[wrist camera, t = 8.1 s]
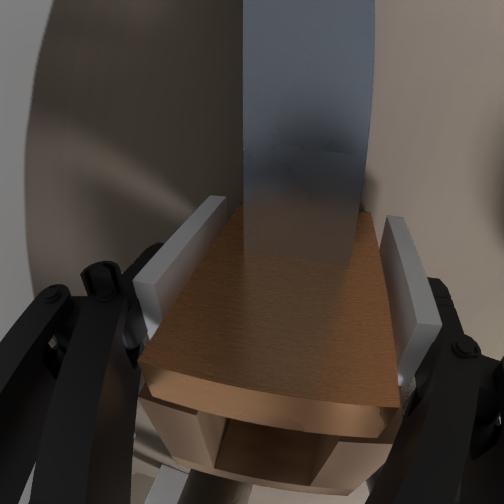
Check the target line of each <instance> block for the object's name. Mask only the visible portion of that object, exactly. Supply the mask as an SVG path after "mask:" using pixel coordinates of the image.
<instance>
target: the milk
mask: <svg viewBox="0 0 504 504" xmlns="http://www.w3.org/2000/svg"><path fill="white" fill-rule="evenodd" d="M188 475H189V474H187V473H184V472H181V471H179V470H176V469H173V468H171V467H168V466H166V465H163V464H162V466H161V468H160V470H159V472H158V474H157V477H156V479H155V481H154V483H153V486H152V488H151V490H150V492H149V495H148V497H147V499H146V501H145V503H144V504H177V503H178V500H179V498H180V495H181V493H182V490H183V488H184V485H185V483H186V480H187V478H188Z"/></svg>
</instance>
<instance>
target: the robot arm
mask: <svg viewBox="0 0 504 504" xmlns="http://www.w3.org/2000/svg"><path fill="white" fill-rule="evenodd" d="M226 224H227V205H226V196H215V195H210V196H209V197H208V198H207V199H206V200H205V201H204V202H203V203H202V204H201V205H200V206H199V207H198V208H197V209H196V210H195V212H194V213H193V214H192V215H191V216H190V217H189V218H188V219H187V220H186V221H185V222H184V223H183V224H182V225H181V226H180V228H179V229H178V230H177V231H176V232H175V233H174V234H173V235H172V236H171V237H170V238H169V239H168V241H167V242H166V243H165V244H164V243H156V244H154V245H152V246H150V247H149V248H147V249H146V250H145V251H144V252H143V253H142V254H141V255H140V256H139V258H137V259H136V260H135V261H134V264H132V265H131V266H130V267H129V268H128V269H127V270H126V271H125V272H124V273H123V274H121V271H120V267H119V266H118V264H117V263H114V262H112V261H102V262H97V263H94V264H92V265H90V266H88V267H87V268H85V269H84V270H83V271H82V273H81V274H80V275H81V278H82V281H83V283H84V286H85V289H86V292H87V295H88V296H71V294H70V291H69V289H68V288H67V286H65V285H62V284H56V285H51V286H49V287H47V288H46V289H44V290H43V291H42V292H40V293H39V294H38V296H37V297H36V298H35V299H34V300H33V302H32V303H31V304H30V305H29V306H28V308H27V309H26V310H25V311H24V312H23V314H22V315H21V316H20V317H19V319H18V320H17V321H16V322H15V324H14V325H13V326H12V327H11V329H10V330H9V331H8V333H7V334H6V335H5V337H4V338H3V339H2V341H1V342H0V504H18V503H19V500H20V498H21V495H22V493H23V490H24V488H25V485H26V483H27V480H28V478H29V476H30V474H31V471H32V469H33V467H34V464H35V462H36V465H35V470H34V477H33V482H32V489H31V495H30V501H29V503H28V504H130V496H131V494H130V493H131V472H132V455H133V442H134V430H135V419H136V409H137V400H138V392H139V384H140V376H141V369H140V366H139V364H138V361H137V360H138V358H139V357H140V355H141V354H142V352H143V350H144V346H143V343H142V340H143V338H144V337H145V335H146V334H147V333H148V336H149V339H151V338H152V336H153V335H154V333H155V331H156V330H157V328H158V327H159V325H160V324H161V322H162V321H163V319H164V317H165V316H166V314H167V313H168V311H169V310H170V308H171V307H172V305H173V304H174V302H175V300H176V299H177V297H178V296H179V294H180V293H181V291H182V290H183V288H184V287H185V285H186V284H187V282H188V281H189V279H190V278H191V276H192V275H193V273H194V272H195V270H196V269H197V267H198V266H199V264H200V263H201V261H202V260H203V258H204V257H205V255H206V254H207V252H208V251H209V249H210V248H211V246H212V245H213V243H214V242H215V241H216V239H217V238H218V236H219V235H220V233H221V232H222V230H223V229H224V227H225V226H226ZM379 252H380V257H381V262H382V267H383V272H384V278H385V283H386V289H387V295H388V301H389V308H390V314H391V321H392V329H393V337H394V345H395V354H396V364H397V375H398V386H409V384H410V383H411V381H412V379H413V378H414V376H415V379H416V388H415V390H414V391H413V393H412V394H411V396H410V397H409V399H408V400H407V401H406V403H405V404H404V406H403V408H404V409H406V407H407V409H406V412H405V414H404V417H403V420H402V423H401V425H400V428H399V430H398V433H397V436H396V438H395V440H394V443H393V445H392V448H391V450H390V452H389V455H388V457H387V459H386V462H385V463H384V464H383V465H382V466H381V467H380V468H379V469H378V470H377V471H375V472H374V473H373V474H372V475H371V476H370V477H369V478H368V479H367V480H366V482H367V486H368V489H369V493H370V495H369V497H368V499H367V500H366V502H365V504H504V356H503V358H502V359H501V361H498V360H495V359H492V358H489V357H486V356H484V355H482V354H481V349H480V347H479V346H478V344H477V342H475V341H474V340H473V339H472V338H471V337H469V336H467V335H465V334H464V332H463V329H462V326H461V323H460V320H459V317H458V315H457V312H456V309H455V308H454V304H453V301H452V300H451V296H450V293H449V291H448V288H447V287H446V286H445V285H444V284H443V282H442V281H441V280H440V279H437V278H429V277H427V276H426V274H425V271H424V268H423V265H422V263H421V260H420V257H419V255H418V252H417V250H416V247H415V245H414V242H413V240H412V237H411V235H410V232H409V230H408V228H407V225H406V223H405V221H404V218H402V217H396V216H389V215H387V217H386V222H385V227H384V231H383V236H382V240H381V245H380V249H379ZM52 337H53V339H54V340H55V342H56V345H55V346H54V347H53V348H51V347H50V345H49V344H48V342H49V341H50V339H51V338H52ZM499 417H500V418H501V424H500V421H499Z"/></svg>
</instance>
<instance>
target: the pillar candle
mask: <svg viewBox="0 0 504 504" xmlns="http://www.w3.org/2000/svg"><path fill="white" fill-rule="evenodd" d="M252 485H253V484H250V483H245V482H240V481H236V480H232V479H228V478H224V477H220V476H216V475H212V474H208V473H205V472H201V471H198V470H195V469H191V470H190V473H189V475H188V478H187V480H186V483H185V485H184V488H183V490H182V493H181V495H180V498H179V500H178V503H177V504H247V503H248V500H249V496H250V493H251V490H252Z"/></svg>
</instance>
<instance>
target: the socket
mask: <svg viewBox="0 0 504 504" xmlns="http://www.w3.org/2000/svg"><path fill="white" fill-rule="evenodd" d="M398 387H399V403H400V408H399V409H398V411H397V412H396V413H395V415H394V416H393V418H392V419H391V420H390V422H389V423H388V424H387V426H386V427H385V428H384V430H383V431H382V432H381V434H380V435H379V436H378V437H377V438H367V437H351V436H339V435H329V434H320V433H311V432H304V431H297V430H290V429H284V428H278V427H272V426H266V425H261V424H256V423H251V422H246V421H241V420H237V419H232V418H228V417H223V416H219V415H215V414H211V413H207V412H204V411H200V410H196V409H193V408H189V407H185V406H182V405H179V404H175V403H172V402H169V401H166V400H162V399H159V398H156V397H153V396H152V394H151V392H150V390H149V387H148V385H147V383H145V385H144V386H143V388H142V390H141V392H140V393H139V395H138V398H139V400H140V402H141V404H142V406H143V408H144V410H145V412H146V413H147V415H148V417H149V419H150V421H151V422H152V424H153V426H154V428H155V430H156V431H157V433H158V435H159V436H160V438H161V440H162V441H163V443H164V445H165V446H166V448H167V450H168V451H169V453H170V454H171V456H172V458H173V459H174V461H175V462H176V464H179V465H182V466H185V467H188V468H191V469H195V470H198V471H201V472H205V473H208V474H212V475H216V476H220V477H224V478H228V479H232V480H236V481H240V482H245V483H250V484H255V485H260V486H265V487H271V488H277V489H283V490H290V491H298V492H306V493H316V494H327V495H342V496H348V495H349V494H350V493H351V492H353V491H354V490H355V489H356V488H357V487H358V486H360V485H361V484H362V483H363V482H364V481H365V480H367V479H368V478H369V477H370V476H371V475H372V474H373V473H374V472H375V471H377V470H378V469H379V468H380V467H381V466H382V465H383V464H384V463H385V462H386V459H387V457H388V455H389V452H390V450H391V448H392V445H393V443H394V440H395V438H396V436H397V433H398V430H399V428H400V425H401V423H402V420H403V419H402V400H401V386H398Z"/></svg>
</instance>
